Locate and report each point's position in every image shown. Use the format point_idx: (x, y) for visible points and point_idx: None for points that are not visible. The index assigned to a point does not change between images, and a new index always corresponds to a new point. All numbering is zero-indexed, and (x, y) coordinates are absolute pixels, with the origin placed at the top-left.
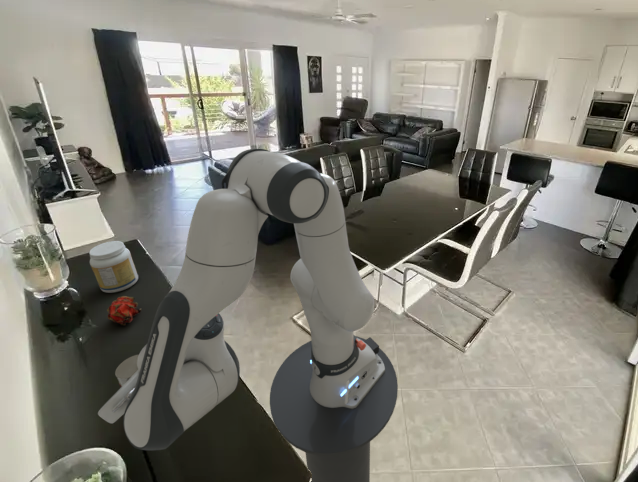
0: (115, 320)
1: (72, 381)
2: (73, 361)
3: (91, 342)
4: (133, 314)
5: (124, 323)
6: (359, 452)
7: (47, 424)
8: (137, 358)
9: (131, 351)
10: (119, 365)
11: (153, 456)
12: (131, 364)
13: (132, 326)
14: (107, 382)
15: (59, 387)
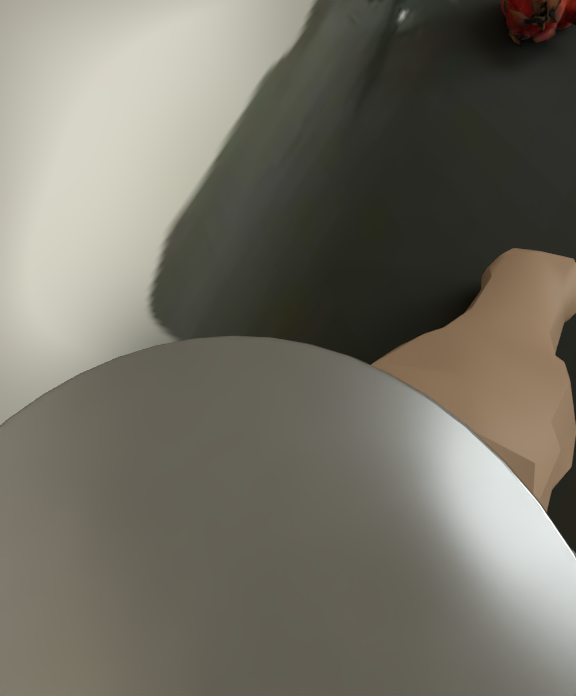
0: (508, 2)
1: (305, 129)
2: (346, 70)
3: (413, 43)
4: (565, 18)
5: (520, 37)
6: None
7: (193, 208)
8: (410, 567)
9: (472, 154)
10: (107, 374)
11: None
12: (211, 621)
13: (532, 64)
14: (355, 207)
15: (277, 123)
